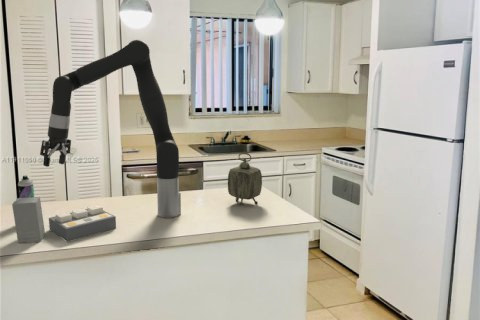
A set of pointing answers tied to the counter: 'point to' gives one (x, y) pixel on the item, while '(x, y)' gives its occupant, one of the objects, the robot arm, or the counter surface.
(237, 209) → the counter surface
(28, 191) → the spray can
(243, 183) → the tabletop clock
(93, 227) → the button panel
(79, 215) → the middle button
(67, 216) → the button
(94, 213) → the button
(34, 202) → the skincare box
